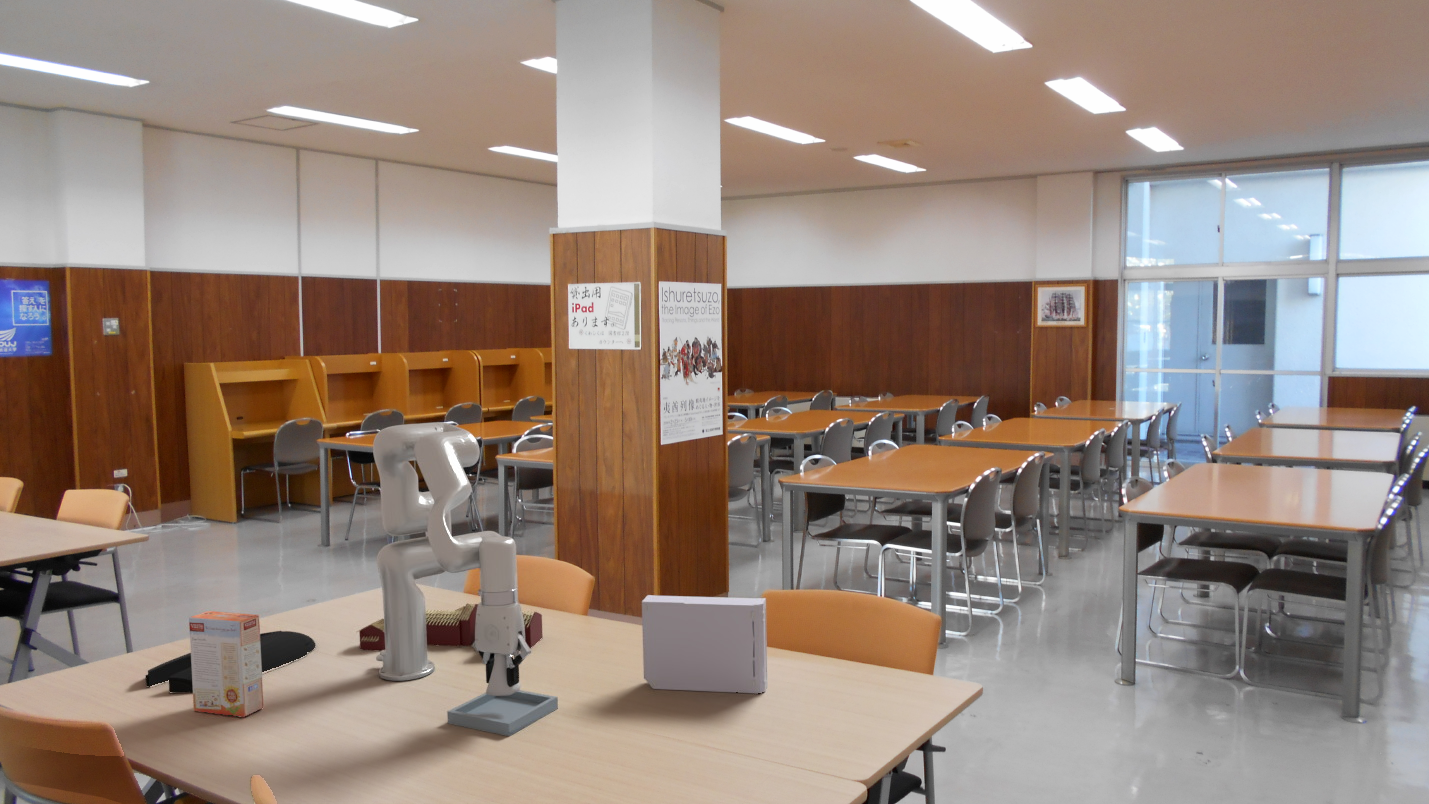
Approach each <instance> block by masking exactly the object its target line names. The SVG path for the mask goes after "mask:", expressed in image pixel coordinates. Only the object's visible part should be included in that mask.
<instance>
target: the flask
mask: <svg viewBox="0 0 1429 804" xmlns="http://www.w3.org/2000/svg"><path fill="white" fill-rule="evenodd" d="M508 667H509V665H508V661H507V657H506V655H501V654H495V661H494V666H493V670H492V673H491V677H490V680H489V683H487V686H486V690H485V692H484V693H485V694H488V695H493V696H504V695H511V694H513V693H515V692H518V691H519V690H521V684H520V682H519V683H518V684H516V685H514V686H512V687H509V686H508V685H507V672H506V669H507V668H508Z"/></svg>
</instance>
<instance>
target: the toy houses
mask: <svg viewBox="0 0 1429 804" xmlns="http://www.w3.org/2000/svg"><path fill="white" fill-rule="evenodd" d="M478 604H479V603H466V604H465V606H461V607H459V608H458V609H455V610H437V609H434V610H432V609H430V610H429V609H426V633H427V646H436V645H439V647H441V646H442V647H463V646H466V647H467V646H468V647H471V645H472V646H473V643H474V641H475V622H476V613H477V607H478ZM522 614H523V620H524V628H525V642H526V643H527V645H528V647H529V648H530V649H532V648H533V647H534V646H535V645H537V644H538V643H539V642H540V641H541V640H542V639H544V638H543V637H544V636H543V614H541V613H539V612H537V611H534V612H533V611H531V612H530V611H522ZM356 633H359V648H360V649H363V650H362V651H374V650H379V651H378V652H381V651H382V650H385V630H384V618H381V619H378V620H377V621H375V622H373V623H371V624H368V625H367V626H364V627H363V628H361V629H359V630H357V631H356ZM541 638H542V639H541ZM540 639H541V640H540ZM539 640H540V641H539ZM538 641H539V642H538ZM537 642H538V643H537ZM536 643H537V644H536ZM532 646H533V647H532ZM531 647H532V648H531Z"/></svg>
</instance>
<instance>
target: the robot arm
mask: <svg viewBox="0 0 1429 804" xmlns="http://www.w3.org/2000/svg"><path fill="white" fill-rule="evenodd" d="M372 444H373V446H372V452H373V458H374V462H375V465H376V468H377V473H378V475H379V481H380V504H381V505H380V506H381V508H380V509H381V521H382V522H381V523H382V527H383V529H384V532H385V533H386V534H388V535H390V536H394V537H402V536H410V535H414V534H415V535H416V534H420V533H425V536H423V537H417V538H410V539H409V538H408V539H403V540H398V541H393V542H390V543H388V544H386V545H384V546H383V547H382V548H381V549H380V550H379V551H378V554H377V556H376V565H377V566H376V567H377V571H378V576H379V581H380V584H381V592H382V605H383V606H382V607H383V608H382V609H383V619H384V630H385V650H382V651H379V654H378V655H376V658H375V659H376V661H378V662H382V667H381V668H380V669H379V671H378V674H379V677H380V678H381V679H383V680H386V681H393V682H394V681H395V682H397V681H398V682H400V681H401V682H402V681H410V680H417V679H421V678H423V677H426V676H428V675H430V674H432V673H433V672H434V671H435V667H436V665H435V663H434V662H433V661H431V660H429V659H428V645H427V633H426V611H427V609H426V598H425V595H424V592H423V591H422V590H421V588H420V587H419V586H418V585H417V584H416V583H415V582H416V580H418V579H424V578H428V577H433V576H437V575H440V574H443V573H446V572H448V573H450V574H455V573H457V574H458V573H461V572H466V571H471V570H475V569H479V581H480V582H479V583H480V585H479V586H480V589H478V590H477V595H478V596H480V602H479V603H477V604H478V607H477V613H476V622H475V641H474V643H473V645H472V647H473V648H474V649H475V651H476V652H478V655H479V656H480V658H481V659H482V664H484V665H485V681H486V684H488V683H489V680H490V677H491V673H492V670H493V666H494V661H495V654H501V655H506V657H507V661H508V665H509V667H508V668H507V669H506V672H507V685H508V686H509V687H512V686H514V685H516V684H518V683H520V665H521V664H522V662H523V661H524V660H525V658H527V657H528V656H530V654H532V650H531V648H529V647H528V645H527V643H526V642H525V628H524V620H523V614H522V612H523V610H522V607H521V602H519V594H518V591H519V590H518V567H517V565H518V564H517V563H518V562H517V544H516V541H515V539H513V538H512V537H510V536H504V535H503V536H502V535H501V534H500V533H498V532H496V531H494V530H484V531H477V532H472V533H471V532H470V533H465V534H460V535H455V536H452V515H451V514H452V513H451V511H452V510H453V509H455V508H456V507H458V506H460V505H461V504H463V503H464V502H466V500H467V499H469V497H470V496H471V494H472V491H473V488H472V484H471V482H470V480H469V479H468V476H467V474H466V472H465V469H464V468H467V467H468V468H469V467H472V466H474V465H475V464H477V462H478V461H479V458H480V451H481V450H480V446H479V442H478V440H477V439H476V437H475V436H474V435H473V433H471V432H470V431H469V430H466V429H464V428H462V427H459V426H456V425H453V424H450V423H447V422H443V421H442V422H440V421H437V422H422V423H421V422H420V423H407V424H398V425H392V426H388V427H385V428H382V429H381V430H379V431H378V432H377V433H376V435H375V436H374V440H373V443H372ZM410 461H411V462H412V461H413V462H414V461H416V463H417V466H418V467H419V470H420V472H421V475H422V477H423V479H424V482H425V484H426V486H427V488H428V491H423V492H421V491H419V476H418V473H417V471H416V469H415V468H414V467H413V466H412V464H411V463H410Z"/></svg>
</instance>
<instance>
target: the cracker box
mask: <svg viewBox="0 0 1429 804" xmlns="http://www.w3.org/2000/svg"><path fill="white" fill-rule="evenodd" d="M188 621H189V622H188V626H189V645H190V646H189V647H190V653H191V665H192V684H193V692H192V701H193V702H192V703H193V711H194V712H195V711H199V712H198V713H204V712H208V713H207V714H212V713H215V715H220V714H223V715H222V716H228V715H233V716H232V717H236V716H241V717H240V718H246V717H247V715H248V716H250V715H252V714H254V713H253V712H255V711H257V710H259V709H261V710H263V709H264V708H263V707H264V691H263V690H264V689H263V688H264V685H263V674H262V666H261V646H260V634H261V631H260V630H261V629H260V615H259V614H251V613H238V612H224V611H215V610H213V611H211V610H209V611H204V612H202V613H199V614H195V615H192V616H190V617H188ZM262 708H263V709H262ZM259 711H260V710H259ZM257 712H258V711H257ZM251 713H252V714H251ZM255 713H256V712H255ZM249 714H250V715H249ZM245 716H246V717H245Z"/></svg>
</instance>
